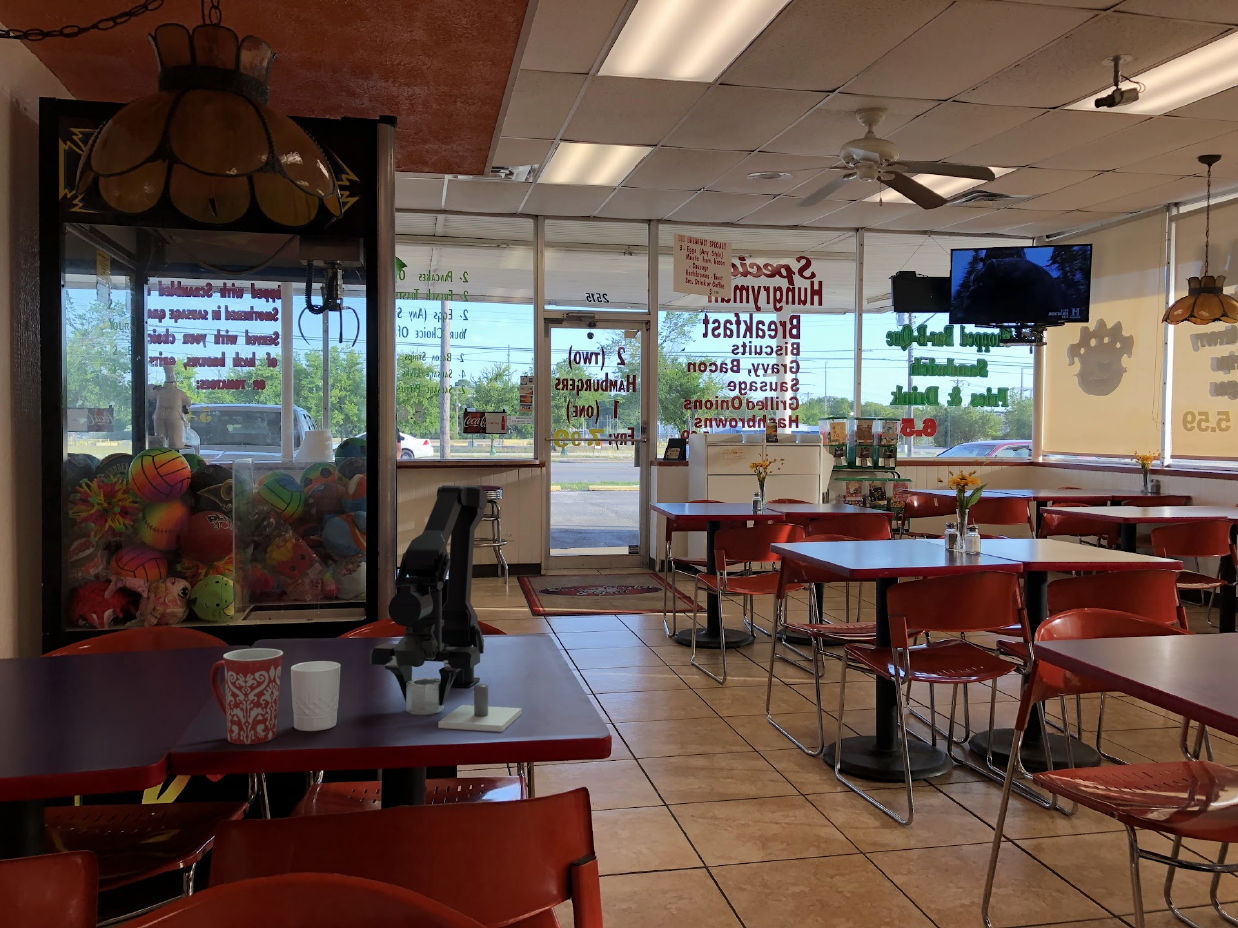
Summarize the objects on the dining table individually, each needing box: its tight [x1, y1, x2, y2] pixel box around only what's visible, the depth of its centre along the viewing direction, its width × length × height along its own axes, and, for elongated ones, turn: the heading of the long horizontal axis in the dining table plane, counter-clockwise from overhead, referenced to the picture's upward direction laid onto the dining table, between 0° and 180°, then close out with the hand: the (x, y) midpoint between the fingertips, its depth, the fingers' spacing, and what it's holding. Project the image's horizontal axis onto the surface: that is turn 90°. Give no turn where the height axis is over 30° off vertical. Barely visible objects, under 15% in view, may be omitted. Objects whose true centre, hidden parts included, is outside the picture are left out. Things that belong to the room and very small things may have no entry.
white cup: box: [290, 660, 341, 732], centre depth 157 cm, size 8×8×10 cm
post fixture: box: [437, 683, 522, 733], centre depth 161 cm, size 11×11×6 cm
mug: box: [209, 647, 284, 745], centre depth 151 cm, size 13×9×14 cm
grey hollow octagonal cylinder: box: [405, 677, 445, 716], centre depth 168 cm, size 6×6×5 cm
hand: (425, 704), depth 168 cm, fingers closed on grey hollow octagonal cylinder, 6 cm apart
